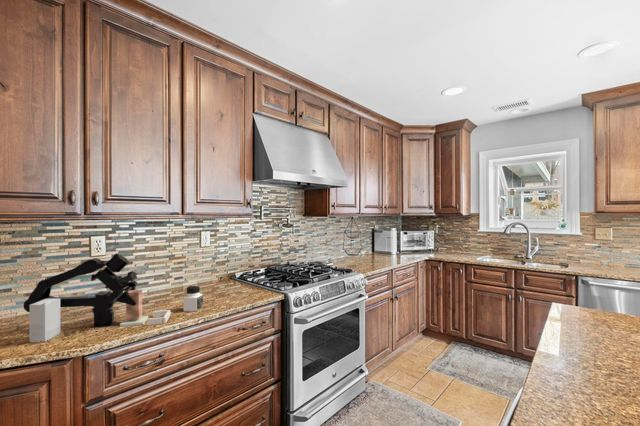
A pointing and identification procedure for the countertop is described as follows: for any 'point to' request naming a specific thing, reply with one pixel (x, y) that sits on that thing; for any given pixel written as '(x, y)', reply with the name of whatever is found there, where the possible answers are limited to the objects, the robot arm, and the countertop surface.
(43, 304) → the skincare box
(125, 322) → the lid board
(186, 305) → the medicine bottle
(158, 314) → the toolbox compartment
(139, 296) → the pink rectangular block
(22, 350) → the countertop surface
